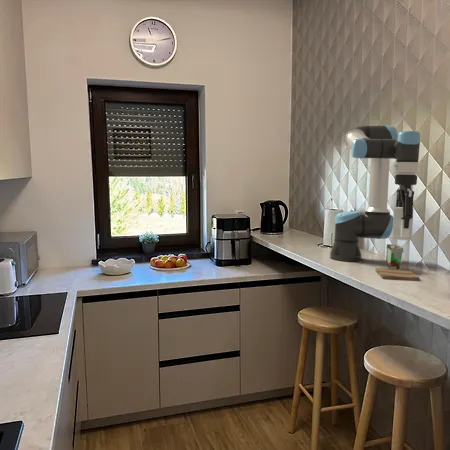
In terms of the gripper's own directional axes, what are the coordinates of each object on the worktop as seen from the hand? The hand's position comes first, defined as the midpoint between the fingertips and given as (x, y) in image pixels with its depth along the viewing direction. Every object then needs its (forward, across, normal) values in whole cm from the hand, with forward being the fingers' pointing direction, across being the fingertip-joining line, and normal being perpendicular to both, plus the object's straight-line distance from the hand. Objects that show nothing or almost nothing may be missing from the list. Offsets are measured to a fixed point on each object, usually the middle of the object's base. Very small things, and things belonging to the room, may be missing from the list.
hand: (401, 235), depth 157 cm
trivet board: (+19, -15, +3) cm, 24 cm away
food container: (+19, -29, +6) cm, 35 cm away
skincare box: (+2, 0, 0) cm, 2 cm away
